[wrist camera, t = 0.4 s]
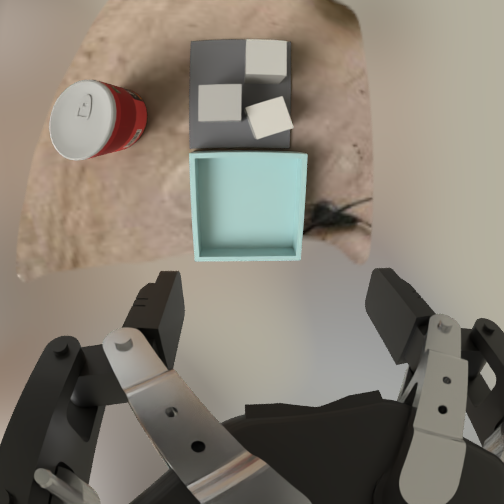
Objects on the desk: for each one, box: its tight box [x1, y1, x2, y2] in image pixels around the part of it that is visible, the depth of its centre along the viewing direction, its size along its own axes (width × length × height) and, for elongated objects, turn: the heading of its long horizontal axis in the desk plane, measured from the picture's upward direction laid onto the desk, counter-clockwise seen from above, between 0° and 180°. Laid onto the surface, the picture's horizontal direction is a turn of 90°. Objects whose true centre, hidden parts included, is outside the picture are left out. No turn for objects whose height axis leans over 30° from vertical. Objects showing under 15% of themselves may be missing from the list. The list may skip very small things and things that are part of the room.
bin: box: [189, 150, 308, 261], centre depth 35 cm, size 13×13×3 cm
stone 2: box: [244, 39, 287, 84], centre depth 26 cm, size 4×4×6 cm
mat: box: [189, 40, 291, 149], centre depth 30 cm, size 14×12×1 cm
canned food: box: [49, 80, 147, 160], centre depth 26 cm, size 8×8×11 cm
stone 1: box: [198, 84, 242, 123], centre depth 28 cm, size 4×4×6 cm
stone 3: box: [244, 96, 294, 139], centre depth 29 cm, size 4×4×5 cm
